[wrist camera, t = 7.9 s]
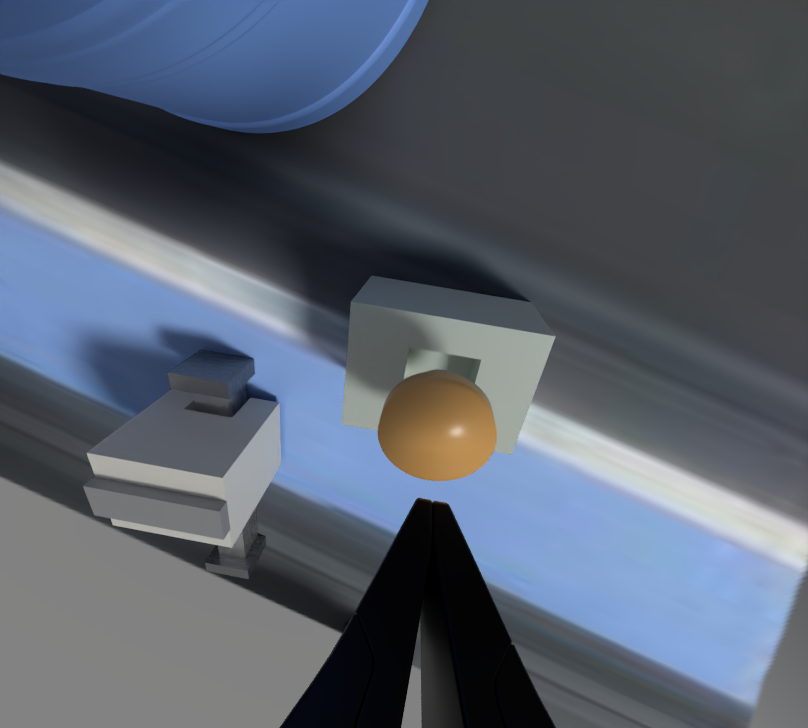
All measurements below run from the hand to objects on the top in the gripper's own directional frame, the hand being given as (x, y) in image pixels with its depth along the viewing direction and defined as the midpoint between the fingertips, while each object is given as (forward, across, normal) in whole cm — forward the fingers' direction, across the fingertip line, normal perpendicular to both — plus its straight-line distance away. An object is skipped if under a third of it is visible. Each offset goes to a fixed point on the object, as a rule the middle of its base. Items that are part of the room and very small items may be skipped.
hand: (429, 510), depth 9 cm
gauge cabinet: (+11, 0, 0) cm, 11 cm away
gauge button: (+6, 0, 0) cm, 6 cm away
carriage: (+11, +12, +8) cm, 18 cm away
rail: (+11, +12, +12) cm, 20 cm away
